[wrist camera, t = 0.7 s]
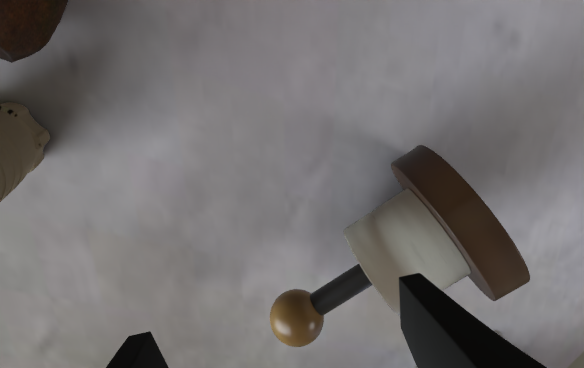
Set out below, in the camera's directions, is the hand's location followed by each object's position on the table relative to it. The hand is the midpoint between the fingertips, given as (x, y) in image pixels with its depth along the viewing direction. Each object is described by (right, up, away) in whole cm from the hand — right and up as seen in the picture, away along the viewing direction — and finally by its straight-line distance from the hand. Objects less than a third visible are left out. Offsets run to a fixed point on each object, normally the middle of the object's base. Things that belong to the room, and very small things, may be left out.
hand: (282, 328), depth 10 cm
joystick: (+4, +1, +11) cm, 11 cm away
